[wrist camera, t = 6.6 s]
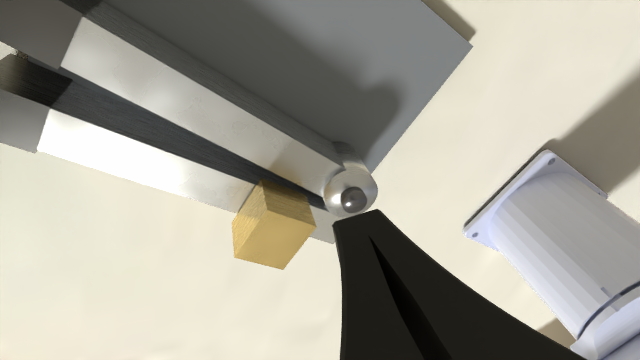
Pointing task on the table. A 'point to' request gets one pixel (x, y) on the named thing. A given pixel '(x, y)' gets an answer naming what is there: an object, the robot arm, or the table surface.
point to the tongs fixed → (129, 142)
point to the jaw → (185, 94)
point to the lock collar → (272, 225)
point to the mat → (314, 59)
